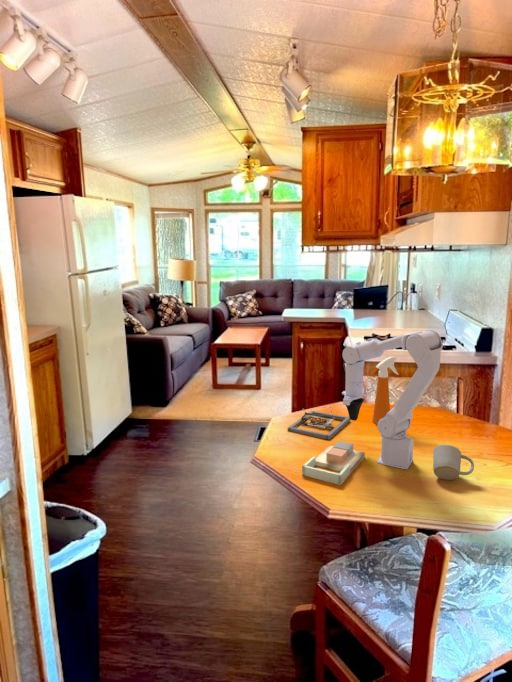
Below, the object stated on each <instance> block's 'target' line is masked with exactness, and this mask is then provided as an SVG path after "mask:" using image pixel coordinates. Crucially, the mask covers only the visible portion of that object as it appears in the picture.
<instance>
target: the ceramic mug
mask: <svg viewBox="0 0 512 682" xmlns="http://www.w3.org/2000/svg"><path fill="white" fill-rule="evenodd" d="M432 454H433V455H432V456H433V457H432V459H433V460H432V462H433V464H432V465H433V466H432V467H433V468H432V469H433V473H434V475H435V476H436V478H438V479H441V480H445V481H453V480H456V479H458V478H459V476H468V475H471V474H472V473H473V471H474V469H475V462H474V460H473V459H472V458H470V457H469V456H467V455H464V454H462V452H461V450H460V449H459V448H458V447H456V446H453V445H450V444H439V445H437V446H435V447H434V448H433V452H432ZM462 459H464V460H466V461H468V462H469V463H470V465H471V466H470V468H469V470H468V471H461V464H462V463H461V462H462Z"/></svg>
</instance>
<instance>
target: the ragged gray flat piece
mask: <svg viewBox="0 0 512 682" xmlns="http://www.w3.org/2000/svg"><path fill="white" fill-rule="evenodd" d="M328 408H329V409H333V408H332V406H328ZM328 408H326V409H327V410H328V411H329V409H328ZM317 409H319V407H317ZM324 409H325V408H323V410H324ZM327 410H326V411H327ZM301 411H304V408H302V410H301ZM330 412H331V413H332V412H333V410H331V411H330ZM305 415H306V416H307V417H308V418H306V417H305ZM304 417H305V418H304ZM309 417H310V418H309ZM334 418H335V417H327V416H323V415H316V414H311V413H309V412H306V411H304V415H303V416H301V417H300V419H301V421H302V420H303V421H304V420H306V421H304V424H307V425H306V426H309V427H314V428H321V429H323V428H324V427H325V428H324V429H323V430H328V429H332V426H333V424H332V423H333V421H335V419H334ZM307 421H311V422H310V423H308V422H307ZM312 422H315V423H312ZM317 423H320V424H317ZM321 423H322V424H321ZM313 424H314V425H313ZM327 428H328V429H327Z"/></svg>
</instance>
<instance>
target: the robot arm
mask: <svg viewBox="0 0 512 682" xmlns="http://www.w3.org/2000/svg"><path fill="white" fill-rule="evenodd" d="M443 347H444V343H443V341H442V338H441V336H440V334H439V332H437V331H435V330H433V329H429V330H428V329H427V330H426V331H423V330H422V331H416V332H414V331H413V332H408V333H403V334H400V335H396V336H394V337H391V338H387V339H385V340H382V341H381V340H379V339H377V338H373V337H372V338H367V341H364V342H361V341H358V342H356V344H354V345H348V346H347V347H345V348H344V349H343V350H342V355H341V356H342V359H343V361H344V362H345V390H343V391H342V392H341V395H343V396H344V398H342V405H345V407H346V409H347V413H348V417H350V421H354V422H356V421H357V420H358V419H359V414H360V409H361V407H362V404H363V403H364V401H365V399H364V398H363V397H364V394H365V388H364V366H365V362H366V361H369V360H372V359H375V358H378V357H379V358H380V357H382V356H383V354H384V352H385V351H389V350H390V351H391V350H394V349H398V348H401V349H402V350H404V351H407V352H408V354H409V356H411V358H412V359H413V361H414V363H415V364H416V365H417V369H416V370H415V371H414V374H413V375H412V377H411V378H410V381H409V382H408V383H407V385H406V387H405V389H404V390H403V391H402V394H401V395H400V397H399V398H398V399H397V402H396V403H395V405H394V406H393V407H392V408H390V411H389V412H388V413H387V414H386V416H385V417H384V418H381V419H380V420H379V421H378V425H377V430H378V432H379V433H380V437H381V447H380V449H381V451H380V457H379V458H378V460H377V461H376V463H377V464H380V465H384V466H387V467H388V466H389V467H392V468H397V469H398V468H399V469H402V470H408V469H409V468H410V466H411V464H412V463H413V461H414V438H412V437H410V436H408V435H407V430H409V429H410V427H411V421H412V419H413V417H414V414H413V411H414V409H416V407H417V405H418V403H419V402H420V401H421V399H422V397H423V396H424V395H425V393H426V391H427V390H428V388H429V386H431V385H430V384H431V383H432V382H433V380H434V378H435V377H436V376H437V374H438V372H439V370H440V367H441V356H442V354H441V351H442V350H443Z"/></svg>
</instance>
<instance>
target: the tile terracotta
mask: <svg viewBox="0 0 512 682" xmlns="http://www.w3.org/2000/svg"><path fill="white" fill-rule="evenodd" d="M347 451H348V450H343V449H339V448H334V447H332V448H331V449H330V450H329V451H328V452H327V453H326V461H331V462H335V463H339V464H342V463H343V462H344V461H345V460H346V459H347Z"/></svg>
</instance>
